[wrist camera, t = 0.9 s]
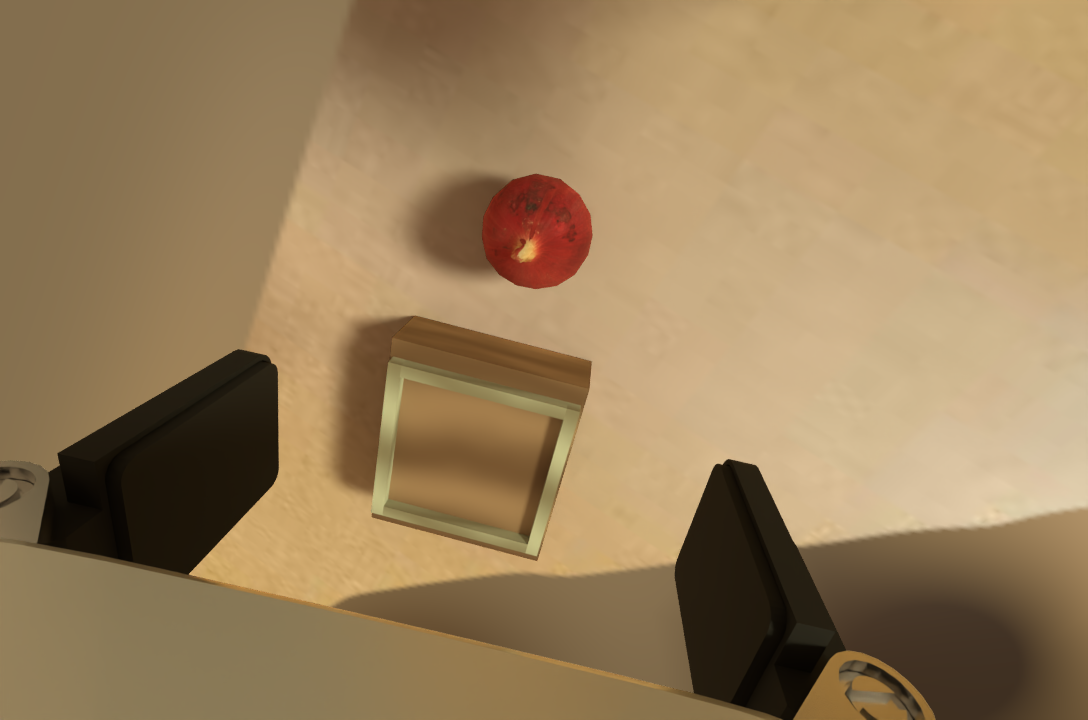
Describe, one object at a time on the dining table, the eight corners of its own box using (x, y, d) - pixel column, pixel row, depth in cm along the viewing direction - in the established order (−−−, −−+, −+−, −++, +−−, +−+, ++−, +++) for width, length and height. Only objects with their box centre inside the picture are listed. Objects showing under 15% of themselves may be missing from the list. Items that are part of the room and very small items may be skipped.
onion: (504, 160, 30) (470, 171, 23) (603, 180, 30) (601, 197, 23) (491, 259, 33) (456, 297, 25) (582, 278, 32) (574, 322, 25)
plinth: (415, 315, 35) (386, 342, 30) (591, 361, 35) (588, 395, 30) (393, 482, 41) (366, 525, 36) (544, 521, 40) (535, 569, 36)
